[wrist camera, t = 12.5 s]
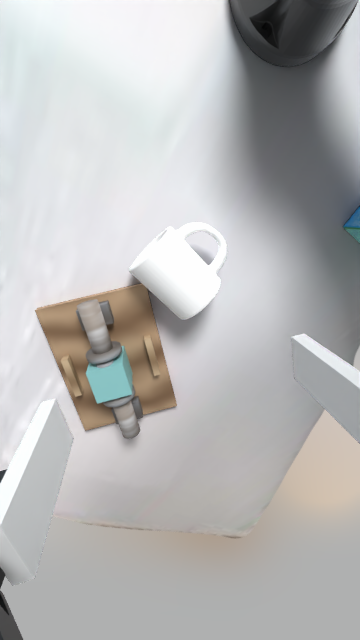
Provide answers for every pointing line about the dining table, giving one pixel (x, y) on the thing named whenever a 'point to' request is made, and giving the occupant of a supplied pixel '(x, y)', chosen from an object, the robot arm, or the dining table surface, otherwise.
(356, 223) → the milk carton
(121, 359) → the block
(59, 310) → the shaft board
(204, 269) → the mug
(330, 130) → the dining table surface
